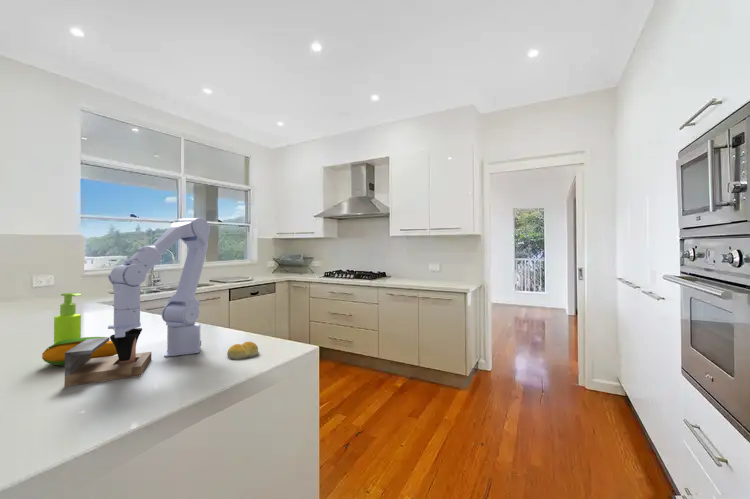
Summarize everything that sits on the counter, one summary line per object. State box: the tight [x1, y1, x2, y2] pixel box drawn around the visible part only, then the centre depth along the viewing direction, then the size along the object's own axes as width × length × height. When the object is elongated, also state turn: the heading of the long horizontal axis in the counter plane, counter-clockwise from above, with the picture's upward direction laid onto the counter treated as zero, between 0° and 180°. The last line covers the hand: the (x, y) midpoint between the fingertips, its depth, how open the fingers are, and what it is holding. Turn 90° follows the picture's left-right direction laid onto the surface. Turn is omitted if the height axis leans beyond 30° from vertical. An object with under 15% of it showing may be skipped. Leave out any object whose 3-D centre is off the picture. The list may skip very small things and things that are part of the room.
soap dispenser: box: [53, 292, 82, 345], centre depth 97 cm, size 6×7×20 cm
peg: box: [119, 338, 137, 364], centre depth 87 cm, size 4×4×8 cm
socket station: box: [63, 336, 152, 387], centre depth 86 cm, size 15×14×8 cm
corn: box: [41, 336, 118, 367], centre depth 95 cm, size 7×8×20 cm
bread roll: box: [226, 341, 260, 360], centre depth 100 cm, size 8×9×4 cm
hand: (126, 358), depth 87 cm, fingers closed on peg, 4 cm apart
